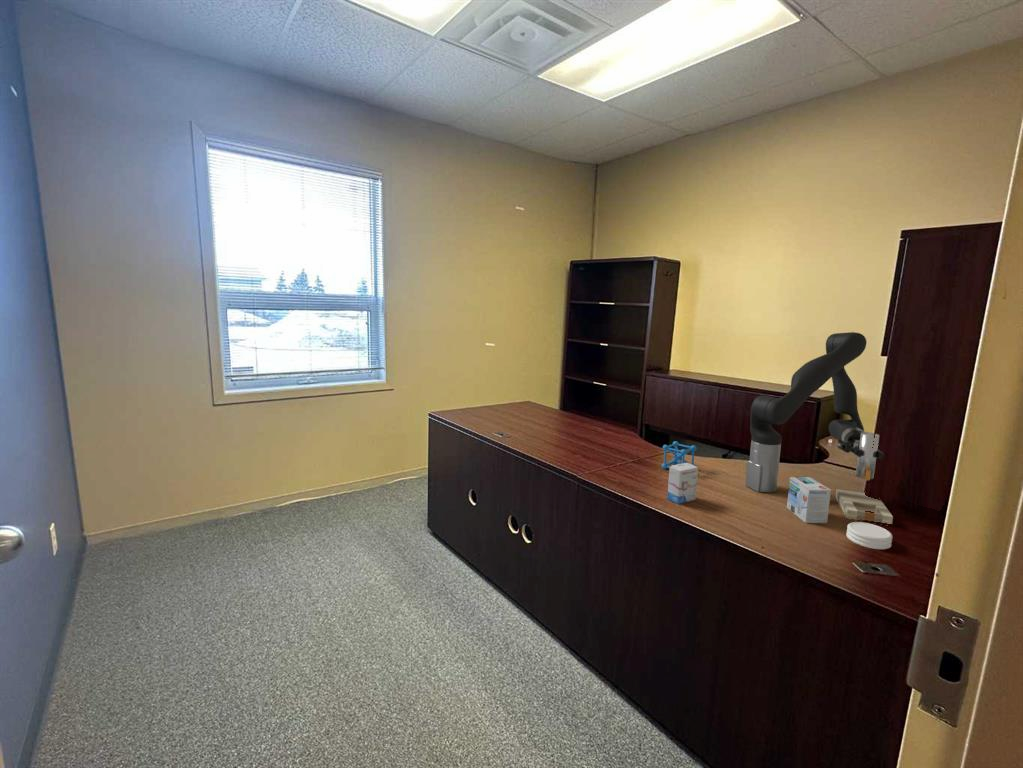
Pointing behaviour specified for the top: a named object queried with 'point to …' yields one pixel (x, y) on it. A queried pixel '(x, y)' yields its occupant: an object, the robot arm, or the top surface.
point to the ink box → (682, 483)
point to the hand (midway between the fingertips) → (870, 454)
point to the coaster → (869, 535)
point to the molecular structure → (677, 456)
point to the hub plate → (862, 507)
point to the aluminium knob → (867, 455)
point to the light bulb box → (808, 499)
